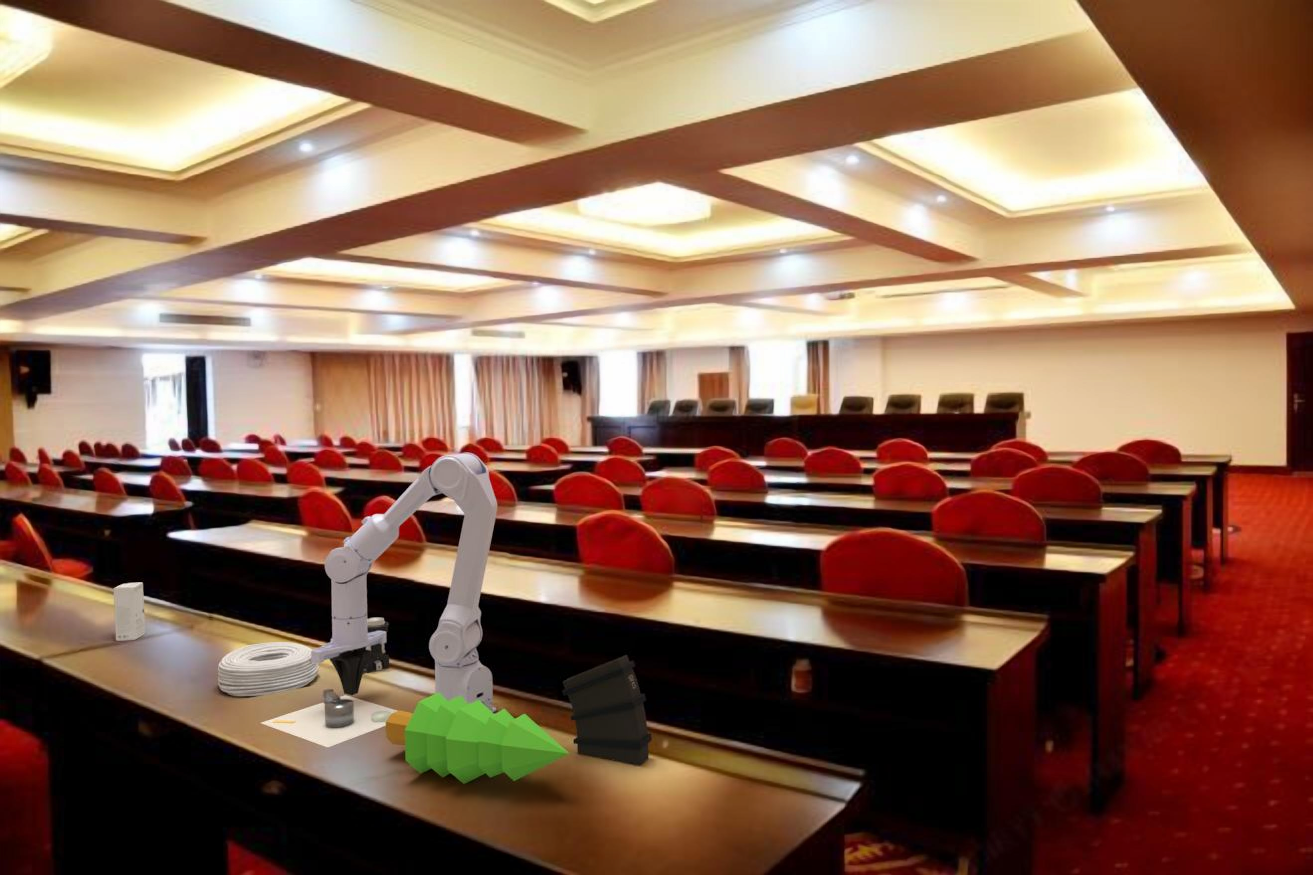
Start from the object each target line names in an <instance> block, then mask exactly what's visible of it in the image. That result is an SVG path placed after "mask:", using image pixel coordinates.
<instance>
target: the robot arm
mask: <svg viewBox="0 0 1313 875" xmlns="http://www.w3.org/2000/svg"><path fill="white" fill-rule="evenodd" d="M489 472H490V470H489V468H488V467H487V466H486V465H485V463H484V461H482V460H481V459H480V457H479V456H477V455H476V454H474V453H472V452H461V453H458V454H453V455H452V454H446V455H443V456H440V457H438V458H437V459H435V461H434V462H433V463H432V465H429V466H428V467H427V468H425V469H424V470H423V471H422V472H421V473H420V474H419V475H418V477H417V478H416V479H415V480H414V481H413V482H412V483H411V484H410V485H409V486H408V488H406V490H404V492H403V493H402V494H401V495H400V496H399V497H398V499H397V500H395V501H394V503H393V504H392V505H391V506H390V507H389V508H388V509H387V511H386V512H385V513H375V514H373V515H371V516H370V515H369V516H366V517H364V518H363V519H362V520H361V524H362V525H361V526H360V528H359V529H358V530H356V532H354V533H353V534H352V535H351V536H347V537H346V538H345V539H344V540H342V541H343V547H337V548H334V549H332V550H330V552H329V554H328V555H327V556H326V559H325V562H324V570H325V573H326V575H327V576H328V578H330V580H331V625H332V626H331V630H332V631H331V632H332V634H331V635H332V636H331V638H330V642H328V643H327V642H326V643H325V644H324V645H323V644H322V645H321V646H320V647H317V648H314V649H312V650H311V662H315V663H317V664H321V663H324V662H325V661H326V660H327V661H328V660H329V661H330V663H331V664H332V665H333V668H335V671H336V673H337V675H338V678H339V680H340V683H341V687H342V690H343V694H344V695H347V696H354V695H356V694H358V693H359V690H360V685H361V682H362V678H363V675H364V672H365V671H364V669H365V667H366V665H367V663H368V661H369V659H370V658H371V651H370V650H366V647H369V646H372V645H375V644H378V643H384V644H386V643H387V632H385V631H375V632H370V633H367V619H368V597H367V596H368V595H367V594H368V589H367V575H368V574H369V572H370V571H371V570H372V568H373V567H372V566H373V565H374V564H373V563H374V562H375V561H376V560H377V559H378V558H379V557H381V555H383V553H384V552H385V551H387V549H389V547H390V546H391V545H392V544H393V543H394V542H395V541H396V540H398V538H399V536H400V526H401V525H403V524H404V522H406V521H407V520H408V519H409V518H410V517H411V516H412V515H413V514H414V513H416V511H418V509H420V508H421V507H422V506H423V505H424V504H425V503H426V502H427V501H429V499H431V498H432V497H434V496H437V495H441V494H443V495H444V496H447V497H448V498H450V499H451V500H453V502H455V503H456V505H457V506H458V508H460V510H461V511H462V513H463V514H464V518H463V521H462V527H461V532H460V538H459V542H458V547H457V552H456V558H455V562H454V568H453V573H452V577H451V578H452V579H451V584H450V588H449V594H448V598H447V604H446V606H445V608H444V610H443V612H442V614H441V616H440V618H439V619H438V620H439V621H438V626H437V628H436V630H434V632H433V634H432V635H431V637H430V639H429V642H428V649H429V652H430V655H431V657H432V658H433V659H434V673H435V674H434V676H435V678H434V680H435V682H434V683H435V684H434V687H435V692H434V693H435V694H436V693H440V694H441V695H442V696H443V697H444V698H445V699H446V700H447V701H449V700H451V699H453V698H456V697H458V696H461V697H462V698H463V699H464V700H465V701H466V702H467V703H468V704H471V703H473V702H475V701H477V700H479V701H480V702H482V703H483V704H484V705H485V706H486V707H487V708H488V709H489V710H490V711H492V712H493V713H496V711H497V707H494V701H493V698H494V696H493V692H494V691H493V689H494V688H493V686H494V685H493V674H492V671H491V670H490V668H488V667H487V666H485V665H483V664H482V663H481V661H480V660H479V652H478V650H477V647H478V646H479V645H480V643H481V641H482V638H483V628H482V625H481V617H482V611H481V609H480V607H479V603H480V599H481V598H480V597H481V594H482V593H481V592H482V589H483V588H482V587H483V582H484V578H485V573H486V569H487V568H486V567H487V562H488V557H489V552H490V547H491V542H492V538H493V532H494V526H495V523H496V518H497V517H496V516H497V513H498V501H497V498H496V496H495V493H494V489H493V487H492V483H491V480H490V473H489Z"/></svg>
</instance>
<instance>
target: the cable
mask: <svg viewBox="0 0 1313 875" xmlns="http://www.w3.org/2000/svg"><path fill="white" fill-rule="evenodd" d="M311 650H313V649H312V648H311V647H308V646H306V645H303V644H300V643H297V642H290V641H287V642H286V641H275V642H273V641H272V642H262V643H255V644H248V645H246V646H243V647H240V648H237V649H235V650H232V651H230V652H229V653H227V654H225V656H223V657H222V658H221V661H220V662H219V663H218V666H217V681H218V682H217V686H219V689H220V690H221V691H222V692H224V693H227V694H228V695H230V696H233V697H259V696H266V695H271V694H277V693H283V692H288V691H293V690H298V689H300V688H302V687H305V686H307V685H309V683H311V682H312V681H314V679H315V678H316V677H317V675H318V674H319V668H320V667H319V665H318V664H319V663H315V662H311Z"/></svg>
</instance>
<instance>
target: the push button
mask: <svg viewBox="0 0 1313 875" xmlns="http://www.w3.org/2000/svg"><path fill="white" fill-rule="evenodd" d="M389 626H390V622H388V621H385V618H384V617H379V616H378V617H377V616H376V617H369V618H367V633H370V632H375V631H385V632H386V633H387V632H388V631H389V628H388V627H389ZM366 650H370V651H371V658H370V659H369V661H368V663H367V665H366V667H365V669H364V672H365V673H372V672H376V671H381V670H385V669H390V655H389V654H387V653H386V650H385V643H378V644H375V645H372V646H369V647H366Z"/></svg>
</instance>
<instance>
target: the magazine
mask: <svg viewBox="0 0 1313 875" xmlns="http://www.w3.org/2000/svg"><path fill="white" fill-rule="evenodd" d="M635 666H636V663H635V661H634V660H631V661H630V659H629V657H628V654H624V655H623V656H620V657H618V658H616V659H615V658H614V659H613V660H611V661H607V662H606V663H603V664H600V665H597V666H595V667H593V668H590V669H588V670H585V671H583V672H581V673H578V674H576V675H572V676H571V677H568V678H567V679H566V680H563V681H562V684H563V685H562V686H563V687H564V689H563V690H561V693H562V694H563V696H564V697H565V696H567V697H568V699H569V702H570V705H571V709H572V712H573V714H572V715H571V716H570V721H575V728H576V729H575V730H576V737H575V738H573V744H574V745H577V747H576V748H577V750H576V751H577V753H578V754H580V755H587V756H592V757H596V758H600V759H606V760H612V761H616V762H619V763H620V762H621V763H626V764H630V765H635V766H641V765H643V763H645V762H646V761H647V760H648V759H649V757H650V756H649V755H650V753H649V743H651V742H652V740H653V739H652V736H653V735H652V733H651V732H650V733H649V732H648V724H647V716H646V710H645V706H644V702H646V701H647V697H646V694H645V693H641V690H640V686H639V682H638V679H637V677H636V674H635V670H634V669H633V668H634V667H635Z"/></svg>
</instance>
